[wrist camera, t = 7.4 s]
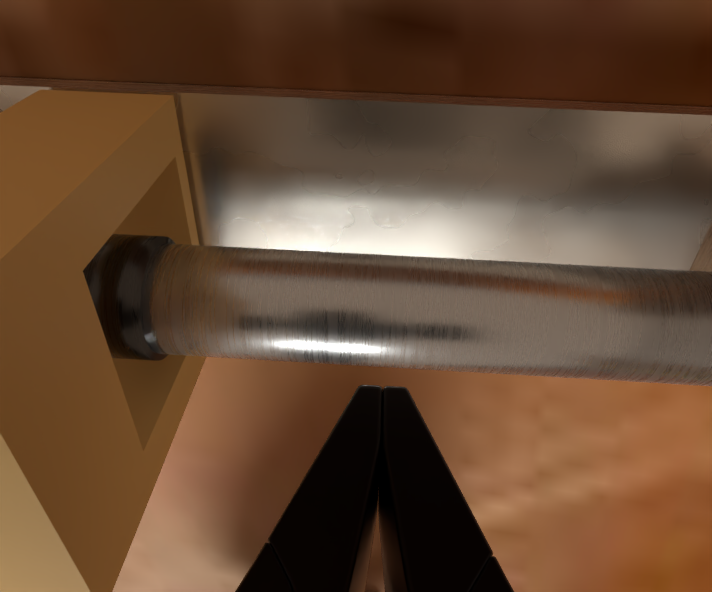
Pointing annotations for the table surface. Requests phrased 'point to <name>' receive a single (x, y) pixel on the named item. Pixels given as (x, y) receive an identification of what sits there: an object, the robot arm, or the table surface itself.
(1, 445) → the tan wooden block
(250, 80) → the table surface
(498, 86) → the table surface
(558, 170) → the grey piece
